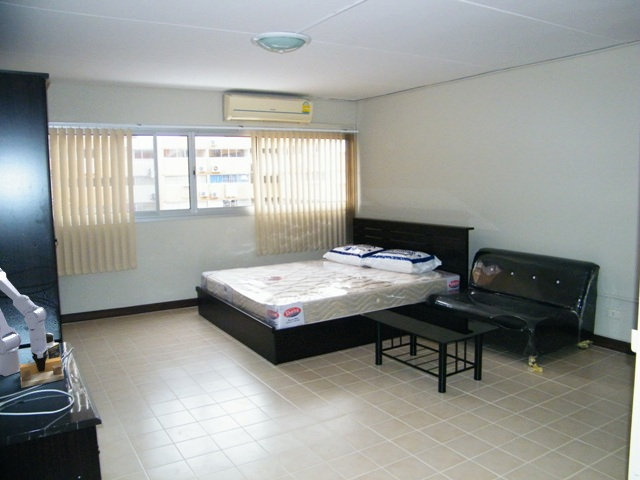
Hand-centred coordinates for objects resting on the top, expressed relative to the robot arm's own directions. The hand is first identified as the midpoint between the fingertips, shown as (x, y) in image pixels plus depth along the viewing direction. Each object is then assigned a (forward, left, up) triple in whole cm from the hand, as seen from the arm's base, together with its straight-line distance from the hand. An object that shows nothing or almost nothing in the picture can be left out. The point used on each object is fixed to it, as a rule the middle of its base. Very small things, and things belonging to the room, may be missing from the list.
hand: (41, 369), depth 214 cm
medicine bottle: (-11, +9, -2) cm, 14 cm away
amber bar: (0, 0, -1) cm, 1 cm away
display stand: (+8, -4, -1) cm, 9 cm away
